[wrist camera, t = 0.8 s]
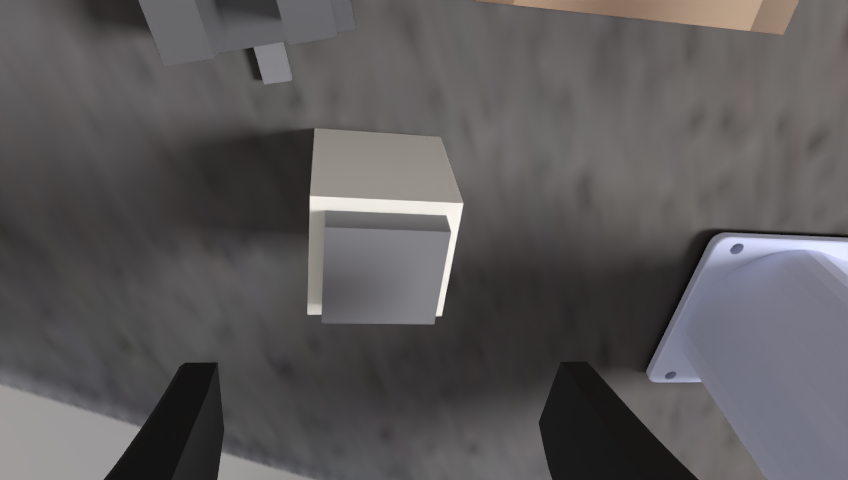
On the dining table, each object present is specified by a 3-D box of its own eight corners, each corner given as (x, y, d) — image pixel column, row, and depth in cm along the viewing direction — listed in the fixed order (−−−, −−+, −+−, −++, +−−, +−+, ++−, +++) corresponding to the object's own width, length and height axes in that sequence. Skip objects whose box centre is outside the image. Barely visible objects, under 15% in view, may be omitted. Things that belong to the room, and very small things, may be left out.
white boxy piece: (440, 135, 19) (469, 219, 15) (424, 237, 21) (445, 334, 17) (314, 127, 18) (308, 212, 14) (311, 233, 20) (306, 333, 16)
